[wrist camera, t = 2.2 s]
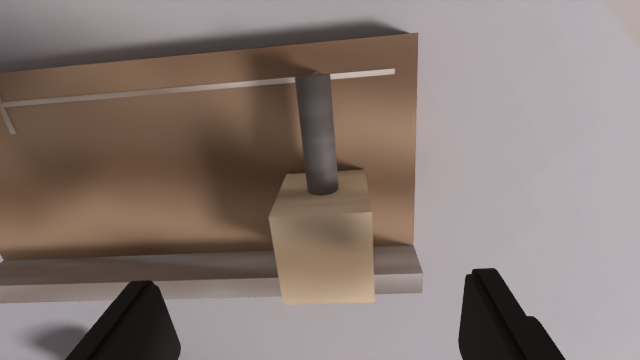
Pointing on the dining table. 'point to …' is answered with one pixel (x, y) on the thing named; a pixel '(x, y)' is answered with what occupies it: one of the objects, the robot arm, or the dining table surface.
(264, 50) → the board
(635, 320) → the dining table surface
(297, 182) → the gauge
